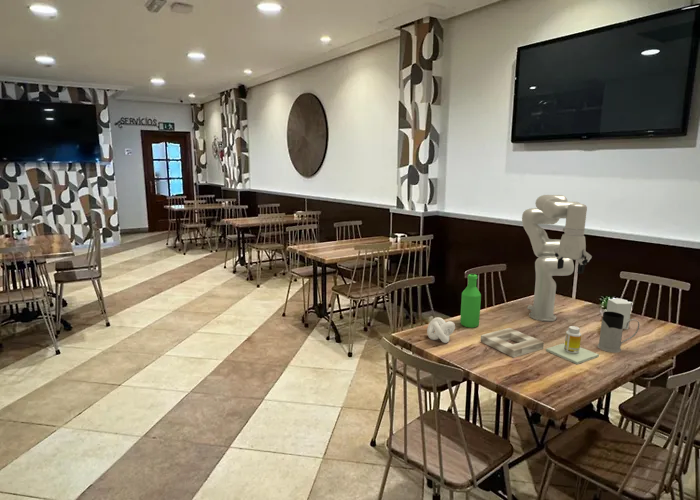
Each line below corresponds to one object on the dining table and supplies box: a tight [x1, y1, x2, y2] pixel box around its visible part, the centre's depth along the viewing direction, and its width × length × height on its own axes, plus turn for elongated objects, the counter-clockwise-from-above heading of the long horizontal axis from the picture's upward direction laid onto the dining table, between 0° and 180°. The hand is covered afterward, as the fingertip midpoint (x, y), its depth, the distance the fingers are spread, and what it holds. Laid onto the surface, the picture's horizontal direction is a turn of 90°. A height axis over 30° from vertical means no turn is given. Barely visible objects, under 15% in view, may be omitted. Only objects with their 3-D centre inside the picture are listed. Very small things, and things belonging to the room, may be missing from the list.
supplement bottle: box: [564, 325, 582, 353], centre depth 179 cm, size 6×6×10 cm
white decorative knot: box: [426, 316, 456, 344], centre depth 193 cm, size 11×12×9 cm
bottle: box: [459, 273, 482, 329], centre depth 208 cm, size 9×9×25 cm
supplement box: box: [606, 298, 632, 330], centre depth 209 cm, size 7×7×13 cm
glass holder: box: [596, 311, 640, 354], centre depth 183 cm, size 9×14×15 cm, turn 73°
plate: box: [545, 342, 600, 365], centre depth 180 cm, size 14×14×1 cm
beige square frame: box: [480, 327, 545, 358], centre depth 188 cm, size 18×18×3 cm
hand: (570, 270), depth 192 cm, fingers open, 9 cm apart
